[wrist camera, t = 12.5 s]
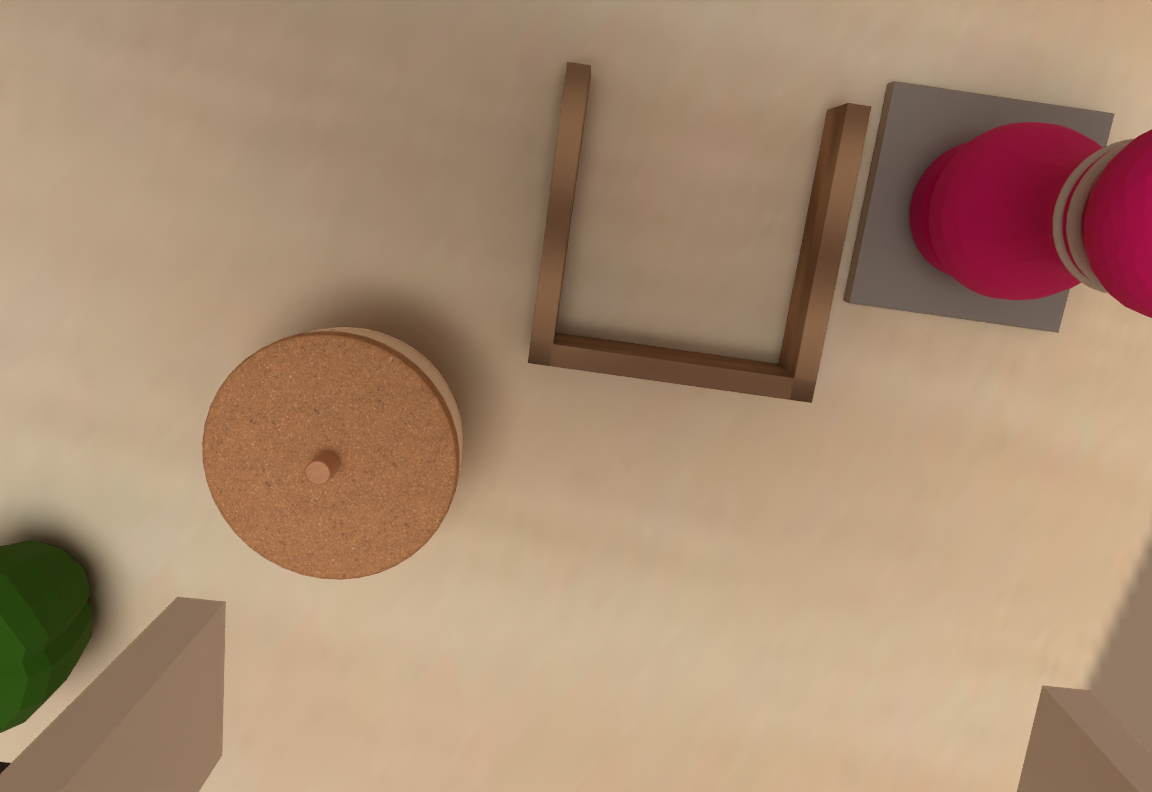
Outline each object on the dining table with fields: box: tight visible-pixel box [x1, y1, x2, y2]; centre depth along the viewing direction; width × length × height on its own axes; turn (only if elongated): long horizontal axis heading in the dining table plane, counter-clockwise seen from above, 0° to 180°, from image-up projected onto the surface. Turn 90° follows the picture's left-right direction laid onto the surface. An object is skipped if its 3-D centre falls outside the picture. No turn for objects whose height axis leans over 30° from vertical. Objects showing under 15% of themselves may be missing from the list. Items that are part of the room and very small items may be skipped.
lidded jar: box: [202, 327, 463, 579], centre depth 42 cm, size 11×11×9 cm
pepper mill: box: [910, 122, 1152, 318], centre depth 33 cm, size 7×7×20 cm
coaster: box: [844, 82, 1114, 333], centre depth 43 cm, size 10×10×1 cm
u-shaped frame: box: [528, 62, 871, 403], centre depth 42 cm, size 13×13×4 cm
